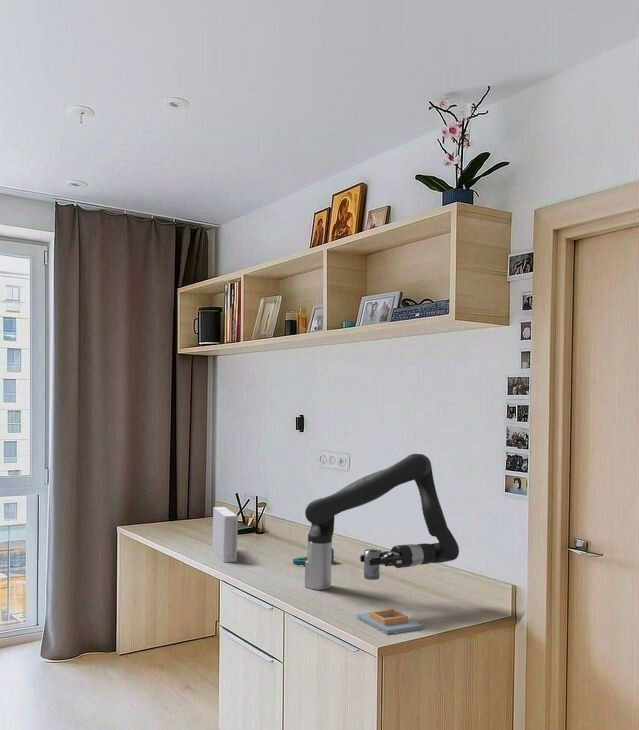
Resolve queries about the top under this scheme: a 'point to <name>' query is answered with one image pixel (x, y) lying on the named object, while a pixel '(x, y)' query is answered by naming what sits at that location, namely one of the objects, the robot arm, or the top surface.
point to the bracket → (302, 560)
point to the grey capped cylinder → (369, 570)
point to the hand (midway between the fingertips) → (365, 560)
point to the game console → (225, 534)
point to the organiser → (389, 621)
